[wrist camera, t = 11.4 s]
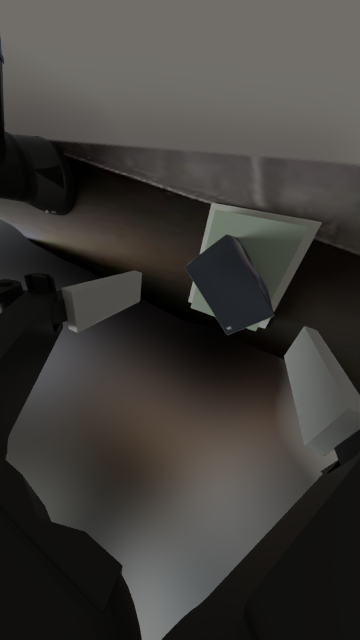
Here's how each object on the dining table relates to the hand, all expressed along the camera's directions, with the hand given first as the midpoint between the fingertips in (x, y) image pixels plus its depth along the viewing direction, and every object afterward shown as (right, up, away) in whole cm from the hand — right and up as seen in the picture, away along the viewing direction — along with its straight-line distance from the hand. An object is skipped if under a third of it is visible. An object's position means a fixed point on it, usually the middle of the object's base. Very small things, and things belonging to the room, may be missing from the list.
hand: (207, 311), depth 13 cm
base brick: (+10, +9, +19) cm, 24 cm away
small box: (+8, +7, +15) cm, 18 cm away
